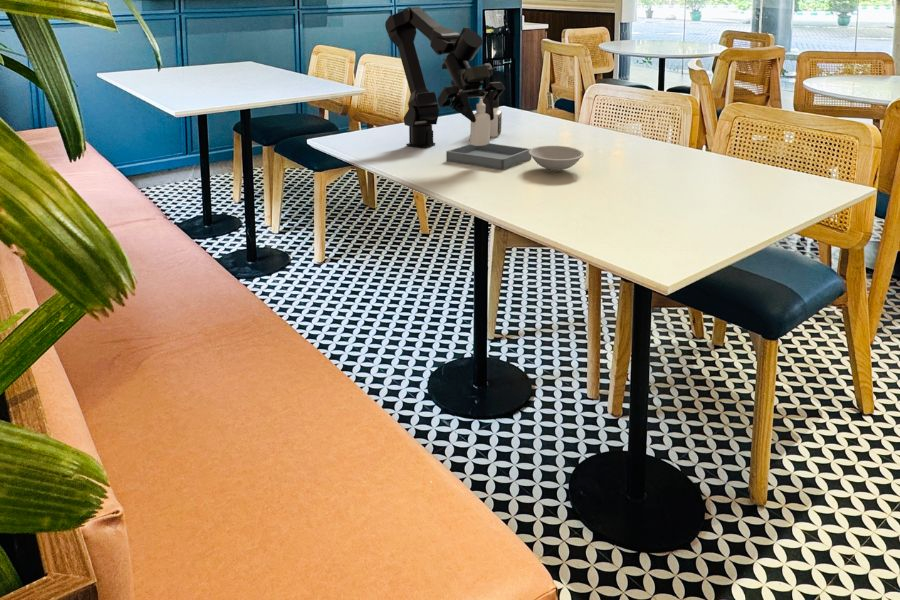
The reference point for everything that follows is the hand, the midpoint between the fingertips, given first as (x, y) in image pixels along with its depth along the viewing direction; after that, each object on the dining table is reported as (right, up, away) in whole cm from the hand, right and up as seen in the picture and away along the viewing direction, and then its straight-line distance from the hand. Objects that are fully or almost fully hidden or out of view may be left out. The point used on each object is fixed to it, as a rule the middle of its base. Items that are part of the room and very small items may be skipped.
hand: (483, 120), depth 219 cm
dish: (+19, -14, 0) cm, 23 cm away
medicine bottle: (+3, +5, +45) cm, 45 cm away
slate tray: (+2, -9, +11) cm, 14 cm away
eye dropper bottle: (-1, -6, +4) cm, 7 cm away
